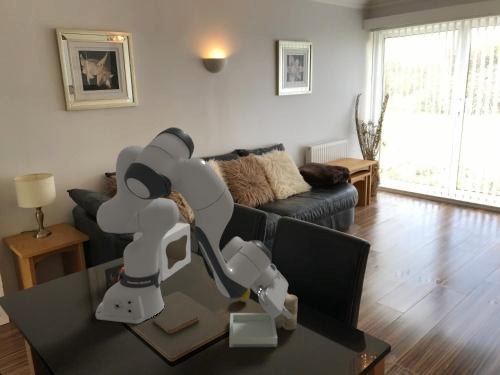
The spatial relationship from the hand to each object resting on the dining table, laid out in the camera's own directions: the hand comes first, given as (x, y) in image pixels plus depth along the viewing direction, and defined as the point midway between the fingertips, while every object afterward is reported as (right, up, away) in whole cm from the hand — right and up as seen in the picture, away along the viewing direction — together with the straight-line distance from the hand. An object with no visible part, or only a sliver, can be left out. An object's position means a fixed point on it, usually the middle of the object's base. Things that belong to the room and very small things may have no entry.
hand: (292, 311), depth 129 cm
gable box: (-50, +5, +44) cm, 67 cm away
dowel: (-1, -5, +1) cm, 5 cm away
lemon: (-16, -2, +17) cm, 23 cm away
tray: (-13, -6, -3) cm, 14 cm away
